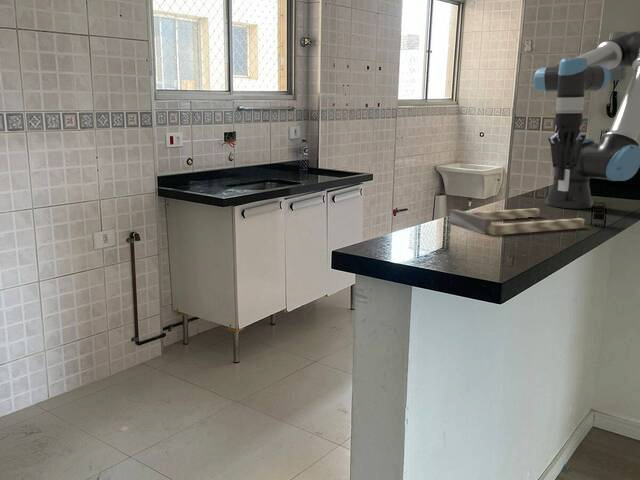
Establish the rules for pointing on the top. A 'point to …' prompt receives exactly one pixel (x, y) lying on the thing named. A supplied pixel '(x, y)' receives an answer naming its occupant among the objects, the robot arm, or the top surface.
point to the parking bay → (483, 223)
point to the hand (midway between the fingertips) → (562, 190)
